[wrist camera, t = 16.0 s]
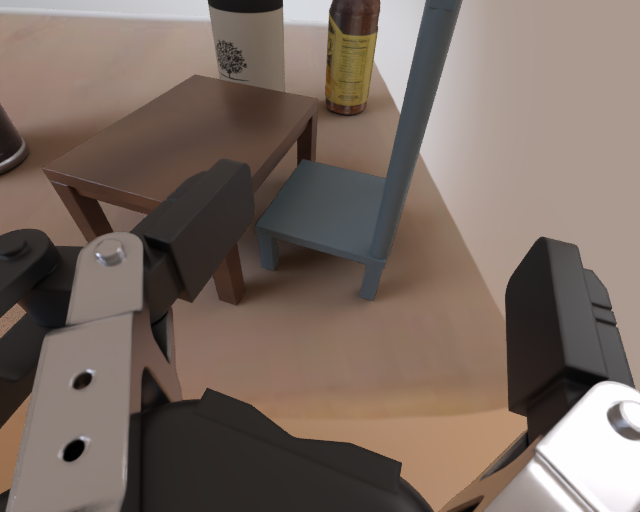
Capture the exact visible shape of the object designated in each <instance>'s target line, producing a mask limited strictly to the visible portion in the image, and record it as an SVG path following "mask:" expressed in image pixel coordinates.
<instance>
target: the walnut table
mask: <svg viewBox="0 0 640 512" xmlns="http://www.w3.org/2000/svg"><path fill="white" fill-rule="evenodd" d="M317 109H318V99H316V98H311V97H306V96H301V95H296V94H291V93H286V92H281V91H276V90H271V89H266V88H261V87H255V86H250V85H245V84H240V83H235V82H230V81H225V80H220V79H215V78H210V77H205V76H200V75H193V76H192V77H190V78H189V79H187V80H185V81H184V82H182V83H180V84H179V85H177V86H175V87H174V88H172V89H170V90H169V91H167V92H166V93H164V94H162V95H161V96H159V97H157V98H156V99H154V100H152V101H151V102H149V103H147V104H146V105H144V106H143V107H141V108H139V109H138V110H136V111H134V112H133V113H131V114H129V115H128V116H126V117H124V118H123V119H121V120H119V121H118V122H116V123H115V124H113V125H111V126H110V127H108V128H106V129H105V130H103V131H101V132H100V133H98V134H96V135H95V136H93V137H92V138H90V139H88V140H87V141H85V142H83V143H82V144H80V145H78V146H77V147H75V148H73V149H72V150H70V151H69V152H67V153H65V154H64V155H62V156H60V157H59V158H57V159H55V160H54V161H52V162H50V163H49V164H47V165H46V166H44V167H42V169H43V171H44V173H45V174H46V176H47V177H48V179H49V180H50V182H51V183H52V185H53V187H54V188H55V190H56V192H57V193H58V195H59V196H60V198H61V200H62V201H63V203H64V205H65V206H66V208H67V209H68V211H69V213H70V214H71V216H72V218H73V219H74V221H75V222H76V224H77V226H78V227H79V229H80V231H81V232H82V234H83V235H84V237H85V239H86V240H87V242H88V243H89V242H90V241H92V240H94V239H95V238H97V237H100V236H102V235H105V234H109V233H114V231H113V230H112V228H111V226H110V224H109V222H108V220H107V218H106V216H105V214H104V212H103V210H102V208H101V207H100V205H99V203H98V201H97V200H99V201H103V202H106V203H110V204H113V205H116V206H120V207H123V208H127V209H130V210H134V211H137V212H140V213H144V214H147V215H149V214H150V213H151V212H152V211H153V210H154V209H155V208H156V207H157V206H158V205H159V204H160V203H162V202H163V201H164V200H167V197H168V196H169V195H170V194H171V193H172V192H173V191H176V189H177V188H178V187H179V186H180V185H181V184H182V183H183V182H184V181H185V180H186V179H187V178H189V177H191V176H193V175H195V174H197V173H200V172H202V171H208V170H209V169H210V168H211V167H212V166H213V165H214V164H215V163H216V162H217V161H218V160H220V159H221V158H226V159H230V160H234V161H238V162H242V163H246V164H248V165H249V167H250V170H251V178H252V188H253V194H254V193H255V192H256V191H257V189H258V188H259V187H260V186H261V184H262V183H263V182H264V181H265V179H266V178H267V177H268V175H269V174H270V173H271V172H272V170H273V169H274V168H275V167H276V165H277V164H278V163H279V162H280V160H281V159H282V158H283V157H284V155H285V154H286V153H287V152H288V150H289V149H290V148H291V147H292V145H293V144H294V143H295V142H296V140H297V166H298V165H299V163H300V162H301V161H302V159H305V160H309V161H313V162H315V158H316V136H317V114H318V110H317ZM213 278H214V281H215V285H216V289H217V292H218V296H219V300H221V301H224V302H227V303H230V304H233V305H237V304H238V302H239V301H240V299H241V297H242V296H243V294H244V293H245V287H244V281H243V275H242V270H241V264H240V258H239V252H238V247H237V242H236V244H235V245H234V246H233V248H232V249H231V251H230V252H229V253H228V255H227V256H226V257H225V259H224V260H223V261H222V263H221V264H220V266H219V267H218V268H217V270H216V271H215V272H214V274H213Z"/></svg>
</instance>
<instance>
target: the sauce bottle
mask: <svg viewBox="0 0 640 512" xmlns="http://www.w3.org/2000/svg"><path fill="white" fill-rule="evenodd" d="M379 12H380V0H333V2H332V4H331V8H330V10H329V27H328V47H327V67H326V86H325V96H326V104H327V107H328V109H329V110H331V111H334V112H336V113H340V114H345V115H346V114H348V115H354V114H357V113H359V112H361V111H363V110H364V109H365V108H366V102H367V98H368V94H369V88H370V81H371V74H372V67H373V60H374V53H375V46H376V39H377V32H378V26H377V25H378V17H379Z"/></svg>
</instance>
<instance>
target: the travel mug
mask: <svg viewBox="0 0 640 512" xmlns="http://www.w3.org/2000/svg"><path fill="white" fill-rule="evenodd" d="M208 4H209V11H210V18H211V24H212V31H213V37H214V44H215V50H216V57H217V63H218V70H219V76H220V80H225V81H230V82H235V83H240V84H245V85H250V86H255V87H261V88H266V89H271V90H276V91H281V92H285V70H284V28H283V0H208Z"/></svg>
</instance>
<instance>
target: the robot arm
mask: <svg viewBox="0 0 640 512" xmlns="http://www.w3.org/2000/svg"><path fill="white" fill-rule="evenodd" d="M28 151H29V148H28V146H27V144H26V142H25V141H24V139H23V137H22V136H21V135H19V133H18V131H17V130H16V128H15V126H14V125H13V123H12V122H11V120H10V118H9V117H8V115H7V113H6V112H5V110H4V108H3V107H2V105H1V104H0V174H2V173H4V172H6V171H8V170H10V169H12V168H13V167H15V166H17V165H18V164H19V163H21V162H22V161H23V160H24V159H25V157H26V156H27V154H28ZM253 214H254V197H253V188H252V178H251V170H250V167H249V165H248V164H246V163H242V162H238V161H234V160H230V159H226V158H221V159H220V160H218V161H217V162H216V163H215V164H214V165H213V166H212V167H211V168H210V169H209V170H208V171H202V172H200V173H197V174H195V175H193V176H191V177H189V178H187V179H186V180H185V181H184V182H183V183H182V184H181V185H180V186H179V187H178V188H177V189H176V191H173V192H172V193H171V194H170V195H169V196H168V197H167V200H164V201H163V202H162V203H160V204H159V205H158V206H157V207H156V208H155V209H154V210H153V211H152V212H151V213H150V214H149V215H148V216H147V217H145V218H144V219H143V220H142V221H141V222H140V223H139V224H138V225H137V226H136V227H135V228H134V229H133V230H132V231H131V232H129V233H127V232H114V233H109V234H105V235H102V236H100V237H97V238H95V239H94V240H92V241H90V242H89V243H88V244H87V245H85V246H84V247H74V246H54V244H53V243H52V242H51V240H50V239H49V237H48V236H47V235H46V234H45V233H44V232H42V231H40V230H37V229H21V230H15V231H12V232H9V233H6V234H3V235H1V236H0V318H1V317H2V316H3V315H4V314H5V313H6V312H7V311H8V310H9V309H11V308H12V307H13V306H14V305H15V304H16V303H18V304H19V305H20V306H21V307H22V308H23V309H24V310H25V311H26V312H27V313H26V314H25V315H24V316H23V317H22V318H21V319H20V320H19V321H18V322H17V323H16V324H15V325H14V326H13V327H12V328H11V329H10V330H9V331H8V332H7V333H6V334H5V335H4V336H3V337H2V338H0V429H1V427H2V426H3V425H4V424H5V423H6V421H7V420H8V419H9V418H10V417H11V416H12V414H13V413H14V412H15V411H16V410H17V409H18V407H19V406H20V405H21V404H22V403H23V402H24V400H25V399H26V398H27V397H28V396H29V395H30V393H31V392H32V394H31V398H30V403H29V408H28V412H27V417H26V421H25V426H24V430H23V435H22V439H21V444H20V448H19V453H18V458H17V462H16V467H15V471H14V476H13V480H12V485H11V488H10V489H9V490H7V491H5V492H3V493H1V494H0V512H434V511H433V509H432V508H431V506H430V505H429V504H428V503H427V502H426V501H425V499H424V498H423V497H422V496H421V495H420V493H419V492H418V491H417V490H416V489H414V488H413V487H412V486H411V485H410V484H409V483H408V482H407V481H406V480H404V479H403V478H402V477H400V472H401V466H402V463H401V462H398V461H396V460H393V459H391V458H388V457H385V456H383V455H380V454H378V453H375V452H372V451H370V450H367V449H365V448H362V447H359V446H357V445H354V444H351V443H346V442H335V441H324V440H313V439H302V438H301V439H300V438H296V437H293V436H291V435H290V434H288V433H287V432H286V431H284V430H283V429H282V428H281V427H279V426H278V425H276V424H275V423H274V422H273V421H271V420H270V419H269V418H268V417H266V416H265V415H264V414H262V413H261V412H260V411H258V410H257V409H256V408H255V407H253V406H252V405H250V404H248V403H245V402H243V401H240V400H237V399H235V398H232V397H230V396H227V395H224V394H222V393H219V392H217V391H214V390H211V389H209V388H207V389H206V391H205V392H204V394H203V396H202V398H201V399H193V400H183V399H182V392H181V387H180V383H179V380H178V376H177V371H176V359H175V342H174V324H173V310H172V307H171V305H172V304H173V303H174V302H175V300H176V299H177V298H179V299H182V300H185V301H188V302H191V303H192V302H193V301H194V300H195V298H196V297H197V296H198V294H199V293H200V291H201V290H202V289H203V287H204V286H205V285H206V283H207V282H208V281H209V279H210V278H211V276H212V275H213V274H214V272H215V271H216V270H217V268H218V267H219V266H220V264H221V263H222V261H223V260H224V259H225V257H226V256H227V255H228V253H229V252H230V251H231V249H232V248H233V246H234V245H235V244H236V242H237V241H238V240H239V238H240V237H241V236H242V234H243V233H244V231H245V230H246V229H247V227H248V226H249V224H250V223H251V221H252V218H253ZM505 307H506V341H507V373H508V406H509V411H511V412H513V413H516V414H520V415H522V416H525V417H527V424H528V429H527V430H526V431H524V432H523V433H522V434H521V435H520V436H519V437H518V438H517V439H516V440H515V441H514V442H513V443H512V444H511V445H510V446H509V447H508V448H507V449H506V450H504V451H503V453H502V454H500V455H499V456H498V457H497V459H495V460H494V461H493V462H492V463H491V464H490V465H489V466H488V467H487V468H486V469H485V470H484V471H483V472H482V473H481V474H480V475H479V476H478V477H477V478H476V479H475V480H474V481H473V482H472V483H471V484H470V485H469V486H467V487H466V488H465V489H464V490H462V491H461V492H460V493H458V494H457V495H456V496H455V497H454V498H453V499H452V500H450V501H449V502H448V503H447V504H446V505H445V506H444V507H443V508H442V509H441V510H440V511H439V512H640V392H639V391H637V390H636V388H635V385H634V382H633V378H632V375H631V371H630V368H629V365H628V361H627V358H626V354H625V351H624V347H623V344H622V341H621V337H620V333H619V330H618V328H617V327H616V324H617V323H616V319H615V316H614V312H612V311H611V309H612V305H611V302H610V299H609V295H608V292H607V289H606V288H605V286H604V285H603V284H602V282H601V281H600V280H599V278H598V277H597V276H596V275H595V273H594V272H593V271H592V270H588V269H584V268H583V265H582V261H581V257H580V253H579V249H578V247H577V246H576V245H574V244H570V243H566V242H562V241H558V240H554V239H550V238H546V237H540V238H539V239H538V240H537V241H536V242H535V243H534V244H533V246H532V247H531V249H530V250H529V252H528V253H527V254H526V256H525V257H524V259H523V260H522V262H521V263H520V264H519V266H518V267H517V269H516V270H515V271H514V273H513V275H512V276H511V278H510V280H509V282H508V285H507V288H506V294H505Z"/></svg>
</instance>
